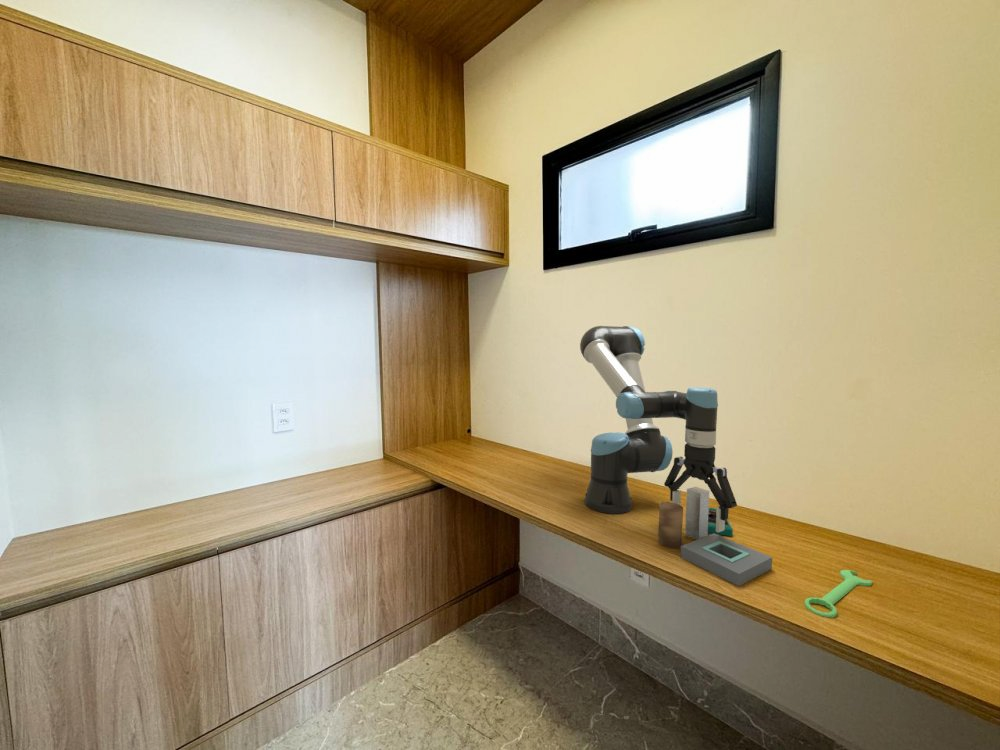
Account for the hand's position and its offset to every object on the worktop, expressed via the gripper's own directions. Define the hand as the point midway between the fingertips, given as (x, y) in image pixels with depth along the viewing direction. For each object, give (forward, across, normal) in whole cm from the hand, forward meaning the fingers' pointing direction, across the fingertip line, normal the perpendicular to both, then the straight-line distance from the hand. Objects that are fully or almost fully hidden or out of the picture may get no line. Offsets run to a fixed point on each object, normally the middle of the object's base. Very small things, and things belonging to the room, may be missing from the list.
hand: (696, 521), depth 109 cm
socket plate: (+4, +12, -7) cm, 14 cm away
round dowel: (+4, -1, -10) cm, 11 cm away
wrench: (+5, +31, +2) cm, 31 cm away
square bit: (+4, 0, 0) cm, 4 cm away
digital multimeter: (+5, -2, +12) cm, 13 cm away
